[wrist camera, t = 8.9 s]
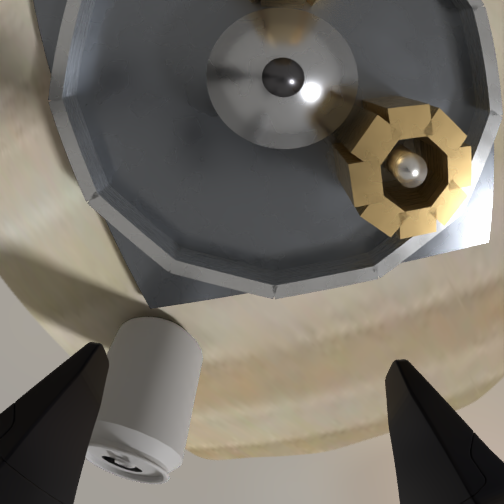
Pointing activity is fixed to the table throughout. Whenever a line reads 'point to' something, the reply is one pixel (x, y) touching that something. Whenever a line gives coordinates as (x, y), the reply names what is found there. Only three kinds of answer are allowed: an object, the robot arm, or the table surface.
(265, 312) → the table surface
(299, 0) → the hollow octagonal wooden tube
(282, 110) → the domed metal knob cap
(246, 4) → the tray
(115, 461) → the can
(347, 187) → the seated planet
